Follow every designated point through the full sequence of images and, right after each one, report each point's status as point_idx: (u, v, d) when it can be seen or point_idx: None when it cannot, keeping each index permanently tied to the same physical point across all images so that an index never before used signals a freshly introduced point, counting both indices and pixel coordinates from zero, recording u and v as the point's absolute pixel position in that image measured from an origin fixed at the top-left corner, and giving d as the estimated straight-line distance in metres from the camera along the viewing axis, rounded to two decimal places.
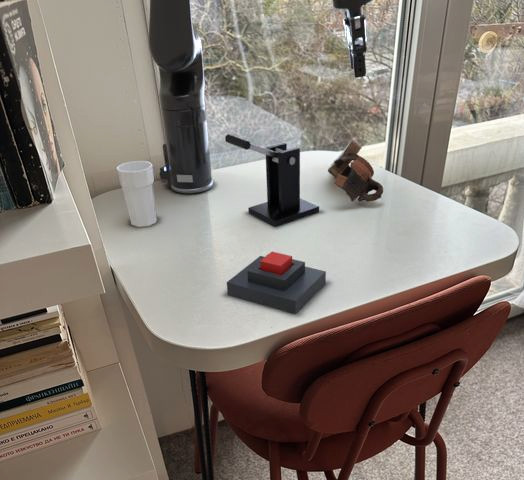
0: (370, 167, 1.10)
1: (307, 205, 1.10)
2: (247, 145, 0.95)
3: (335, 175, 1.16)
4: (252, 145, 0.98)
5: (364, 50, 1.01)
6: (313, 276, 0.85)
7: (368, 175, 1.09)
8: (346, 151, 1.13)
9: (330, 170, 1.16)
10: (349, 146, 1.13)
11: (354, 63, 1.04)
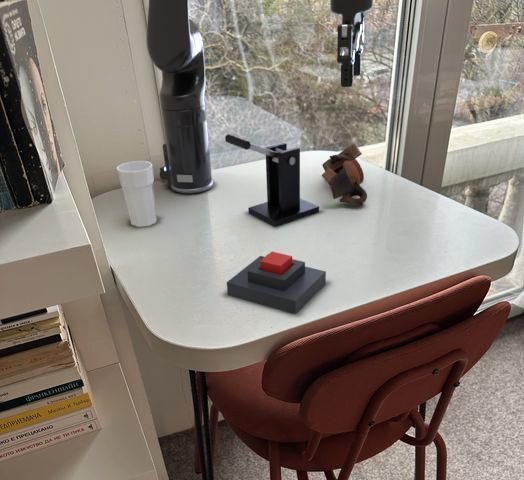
0: (361, 173, 1.10)
1: (307, 205, 1.10)
2: (247, 145, 0.95)
3: None
4: (252, 145, 0.98)
5: (349, 61, 0.97)
6: (313, 276, 0.85)
7: (357, 179, 1.09)
8: (344, 151, 1.13)
9: (324, 164, 1.16)
10: (349, 147, 1.13)
11: (341, 72, 1.01)
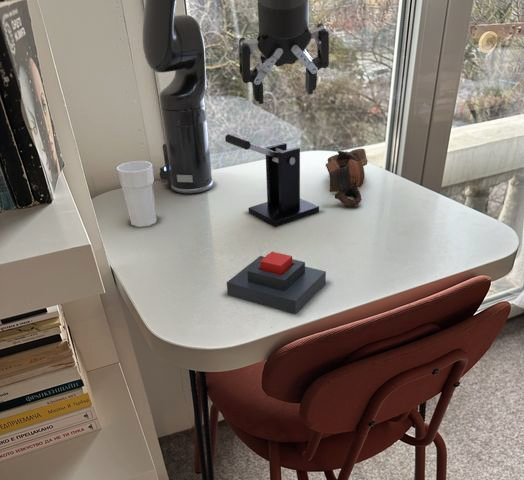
0: (362, 177, 1.11)
1: (307, 205, 1.10)
2: (247, 145, 0.95)
3: None
4: (252, 145, 0.98)
5: None
6: (313, 276, 0.85)
7: (356, 181, 1.10)
8: (353, 151, 1.14)
9: (330, 158, 1.16)
10: (358, 150, 1.14)
11: None
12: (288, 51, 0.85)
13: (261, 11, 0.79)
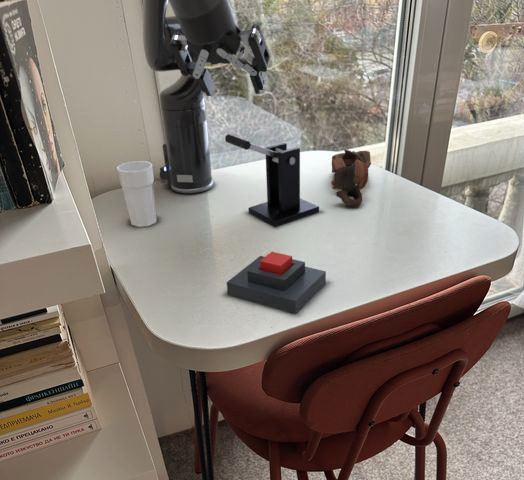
0: (366, 179, 1.11)
1: (307, 205, 1.10)
2: (247, 145, 0.95)
3: None
4: (252, 145, 0.98)
5: None
6: (313, 276, 0.85)
7: (360, 182, 1.10)
8: (359, 152, 1.14)
9: (335, 156, 1.16)
10: (364, 152, 1.14)
11: None
12: None
13: None
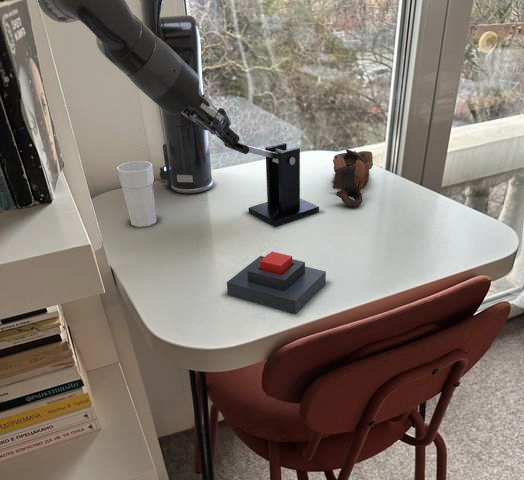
0: (366, 179, 1.11)
1: (307, 205, 1.10)
2: (246, 149, 0.95)
3: None
4: (251, 148, 0.98)
5: None
6: (313, 276, 0.85)
7: (360, 182, 1.10)
8: None
9: (337, 156, 1.16)
10: (366, 152, 1.14)
11: None
12: None
13: None
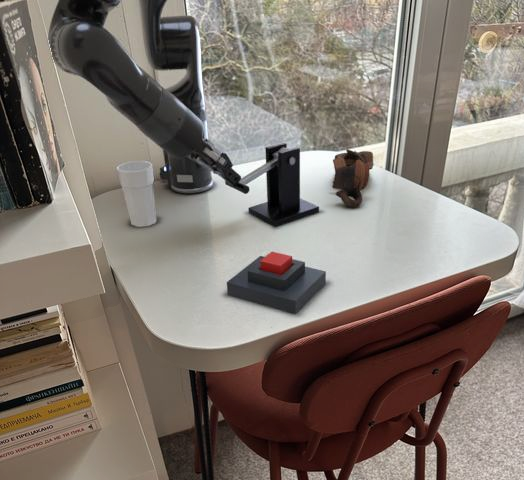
0: (367, 179, 1.11)
1: (307, 205, 1.10)
2: (246, 189, 0.99)
3: None
4: (250, 177, 1.01)
5: None
6: (313, 276, 0.85)
7: (360, 182, 1.10)
8: None
9: (337, 156, 1.16)
10: (366, 152, 1.14)
11: None
12: None
13: None
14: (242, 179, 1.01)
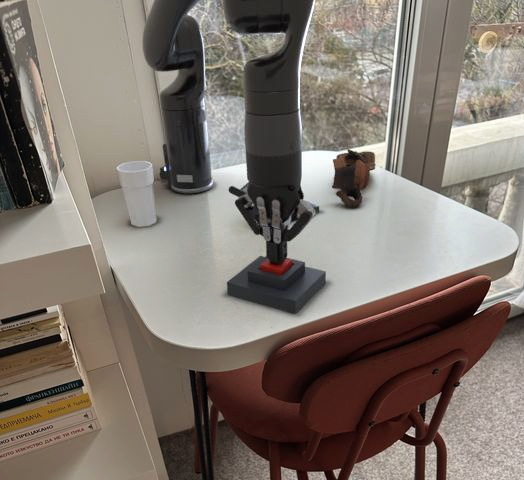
0: (367, 179, 1.11)
1: None
2: None
3: None
4: None
5: None
6: (313, 276, 0.85)
7: (360, 182, 1.10)
8: (363, 153, 1.13)
9: (339, 155, 1.16)
10: (368, 152, 1.14)
11: None
12: None
13: None
14: (245, 187, 1.02)
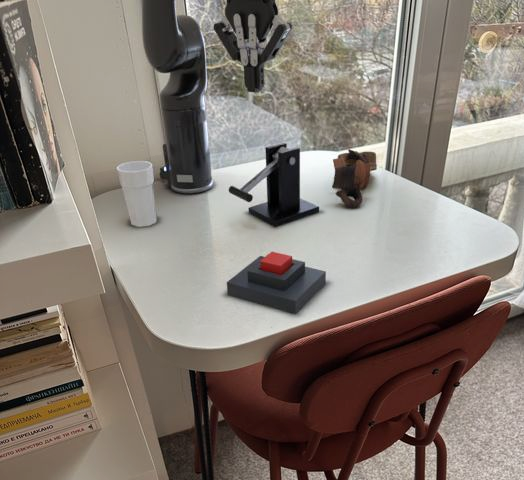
0: (367, 180, 1.11)
1: (307, 205, 1.10)
2: (249, 198, 1.00)
3: None
4: (253, 183, 1.02)
5: None
6: (313, 276, 0.85)
7: (360, 182, 1.10)
8: (364, 153, 1.13)
9: (340, 155, 1.16)
10: (369, 152, 1.14)
11: None
12: None
13: None
14: (245, 187, 1.02)
